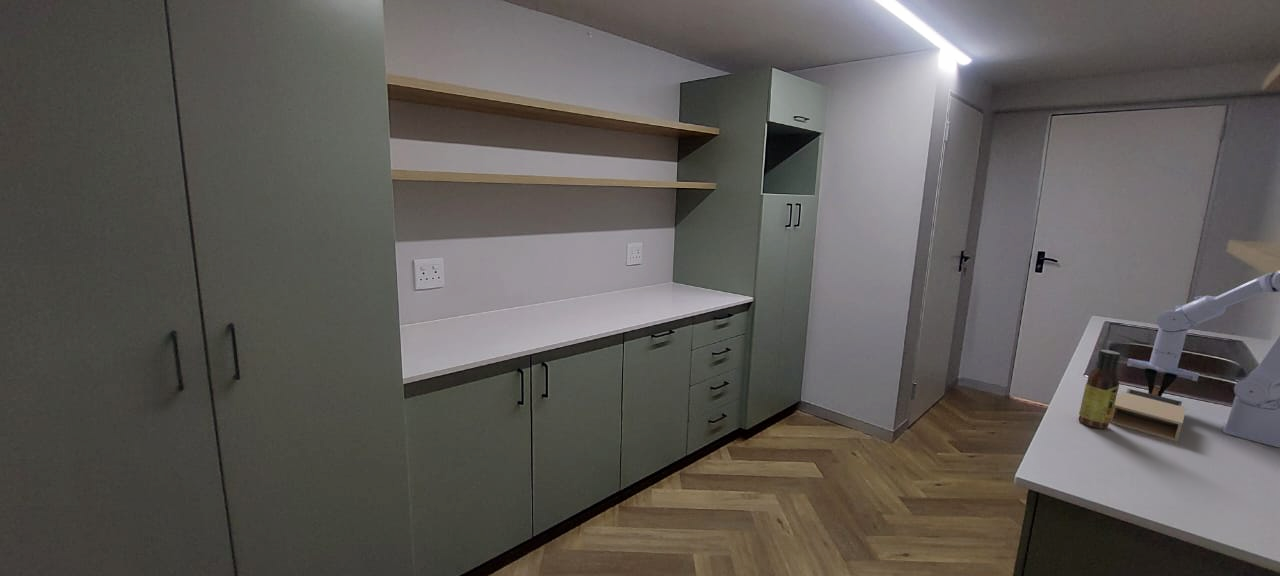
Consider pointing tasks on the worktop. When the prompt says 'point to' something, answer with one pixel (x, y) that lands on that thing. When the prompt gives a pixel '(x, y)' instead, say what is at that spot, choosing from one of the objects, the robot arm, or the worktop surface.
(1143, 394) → the tray
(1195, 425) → the worktop surface
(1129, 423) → the sleeve
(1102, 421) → the sauce bottle
